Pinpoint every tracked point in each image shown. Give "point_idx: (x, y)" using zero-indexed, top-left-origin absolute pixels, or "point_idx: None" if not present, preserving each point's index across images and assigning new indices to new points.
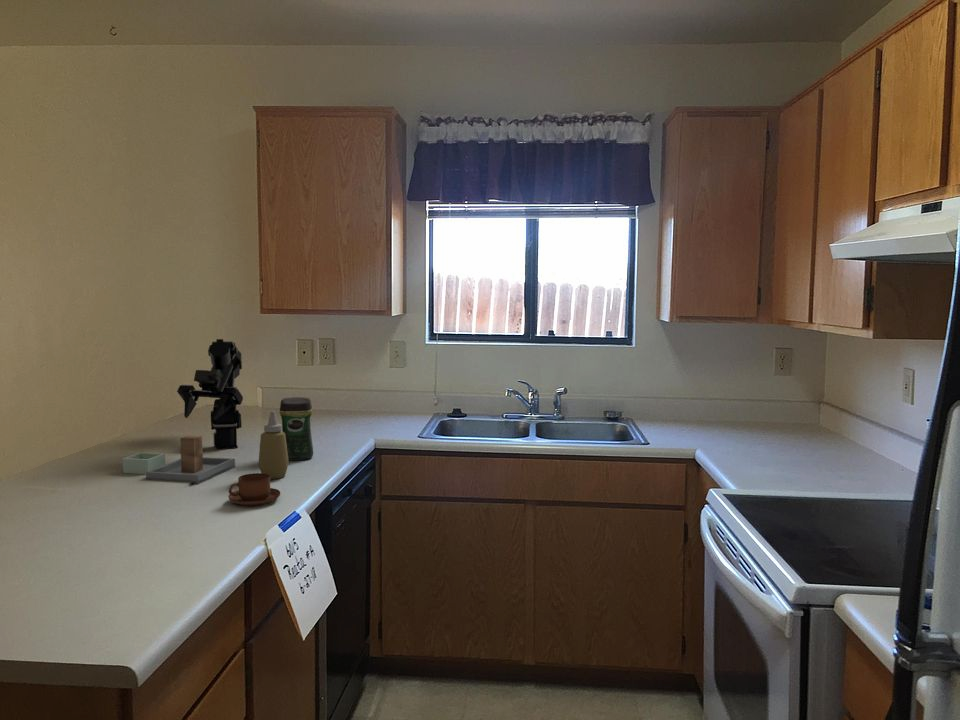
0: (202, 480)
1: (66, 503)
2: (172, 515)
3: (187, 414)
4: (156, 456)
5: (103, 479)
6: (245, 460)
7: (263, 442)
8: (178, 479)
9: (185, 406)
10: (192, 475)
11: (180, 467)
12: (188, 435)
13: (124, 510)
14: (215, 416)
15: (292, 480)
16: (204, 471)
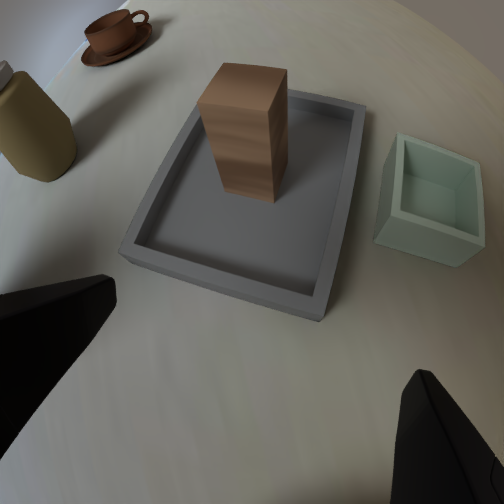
0: None
1: (409, 41)
2: (225, 6)
3: (412, 407)
4: (398, 174)
5: (469, 155)
6: (107, 361)
7: (34, 81)
8: None
9: (482, 447)
10: None
11: (314, 222)
12: (267, 107)
13: (301, 12)
14: (91, 278)
15: None
16: None
